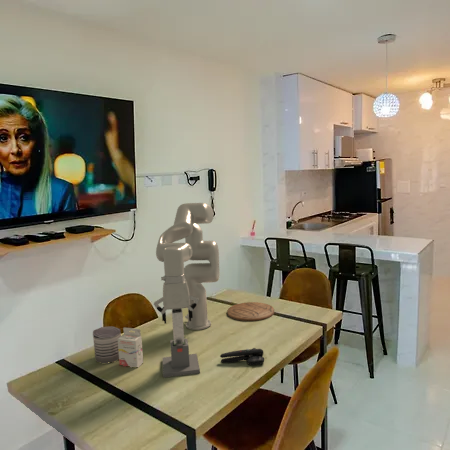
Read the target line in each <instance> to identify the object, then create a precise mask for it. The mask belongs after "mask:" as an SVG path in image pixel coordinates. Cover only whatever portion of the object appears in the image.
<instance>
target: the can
mask: <svg viewBox="0 0 450 450" xmlns="http://www.w3.org/2000/svg"><path fill="white" fill-rule="evenodd" d="M121 332H122V331H121V328H118V327H116V326H101V327H99V328H96V329H93V330H92V337H93V348H94V349H93V351H94V359H96V360H95V361H97V362H101V363H107V364H109V363H108V362H113V361H116V360H118V359H119V350H118V338H119V337H121V336H122V333H121ZM118 361H119V360H118ZM97 362H96V363H97ZM116 362H117V361H116ZM101 363H100V364H101ZM113 363H114V362H113Z"/></svg>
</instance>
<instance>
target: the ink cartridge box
mask: <svg viewBox="0 0 450 450" xmlns="http://www.w3.org/2000/svg"><path fill="white" fill-rule="evenodd" d="M122 329H123V334H121V337H119V338H118V350H119V360H118V362H119V366H120V365H123V366H122V367H126V366H130V367H129V368H132V367H138V368H140V366H141V365H143V364H144V356H143V355H144V354H143V352H144V351H143V342H142V333H141V329H140V328H135V327H134V328H132V327H123V328H122ZM142 363H143V364H142Z"/></svg>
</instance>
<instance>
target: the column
mask: <svg viewBox="0 0 450 450" xmlns="http://www.w3.org/2000/svg"><path fill="white" fill-rule="evenodd" d="M183 313H184V312H183V308H180V309H171V319H172V334H173V335H172V336H173V339H172V340H174V346H176V344H179V343H183V345H185V341H184V339H185V329H184V316H183Z"/></svg>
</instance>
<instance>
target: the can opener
mask: <svg viewBox="0 0 450 450" xmlns="http://www.w3.org/2000/svg"><path fill="white" fill-rule="evenodd" d="M219 357H220V359H221V358H222V359H221V361H220V362H221V363H223V364H231V363H236V362H237V363H238V362H242V361H246V363H247V365H249V366H260V365H262V364H264V363H265V357H264V350H263V348H256V347H252V348H250V349H249V348H246V349H240V350H234V351H228V352H223V353H221V354H220V355H219Z"/></svg>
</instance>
